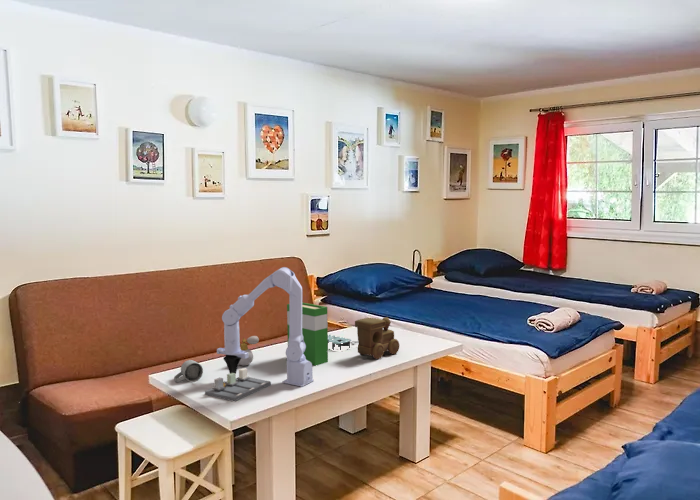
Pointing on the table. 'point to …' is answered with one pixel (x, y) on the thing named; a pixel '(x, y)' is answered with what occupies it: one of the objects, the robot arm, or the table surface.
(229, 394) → the panel
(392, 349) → the wooden toy train
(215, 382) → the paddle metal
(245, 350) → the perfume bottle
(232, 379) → the pale mint cube
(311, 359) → the hardback book
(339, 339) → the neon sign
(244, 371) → the paddle cream
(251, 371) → the table surface
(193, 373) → the ceramic mug
